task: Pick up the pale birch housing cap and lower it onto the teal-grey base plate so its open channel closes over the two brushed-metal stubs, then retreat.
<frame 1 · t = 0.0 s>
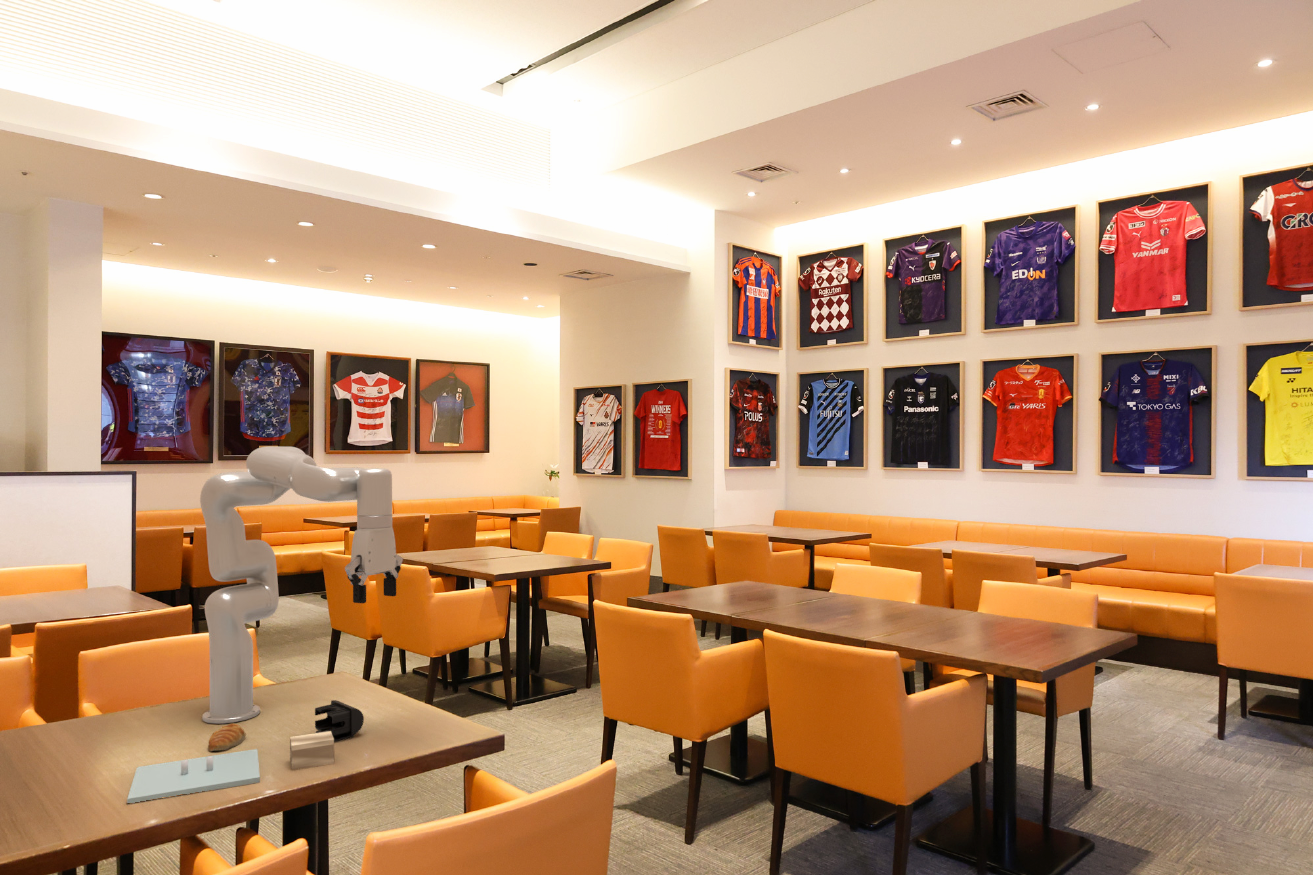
hand: (375, 599, 190), 31 cm above the table, tool pointing down, fingers open, 9 cm apart
pastry: (226, 746, 187), on the table
base plate: (197, 776, 168), on the table
end cap: (339, 735, 193), on the table
housing cap: (311, 762, 175), on the table
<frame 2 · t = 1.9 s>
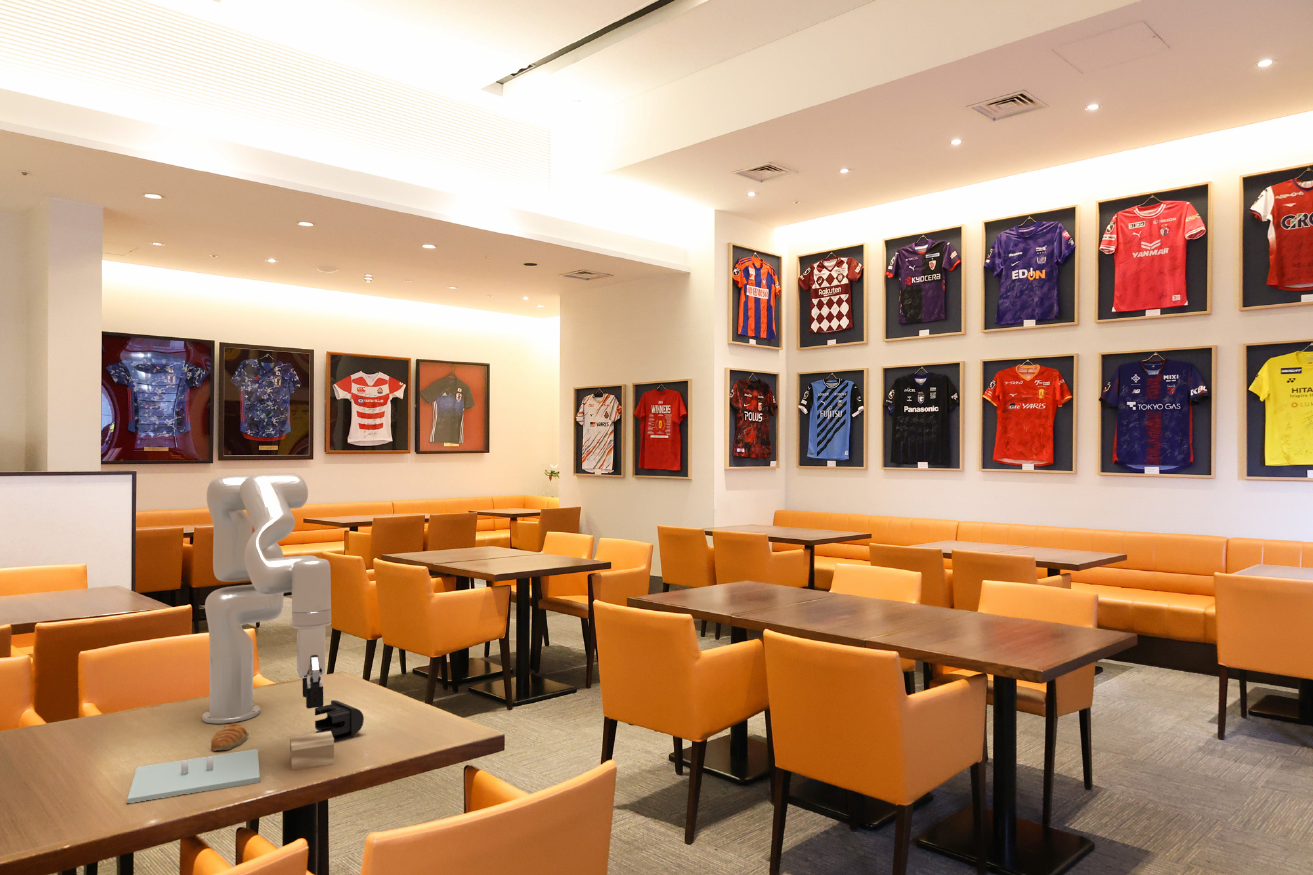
hand: (312, 701, 175), 13 cm above the table, tool pointing down, fingers open, 9 cm apart
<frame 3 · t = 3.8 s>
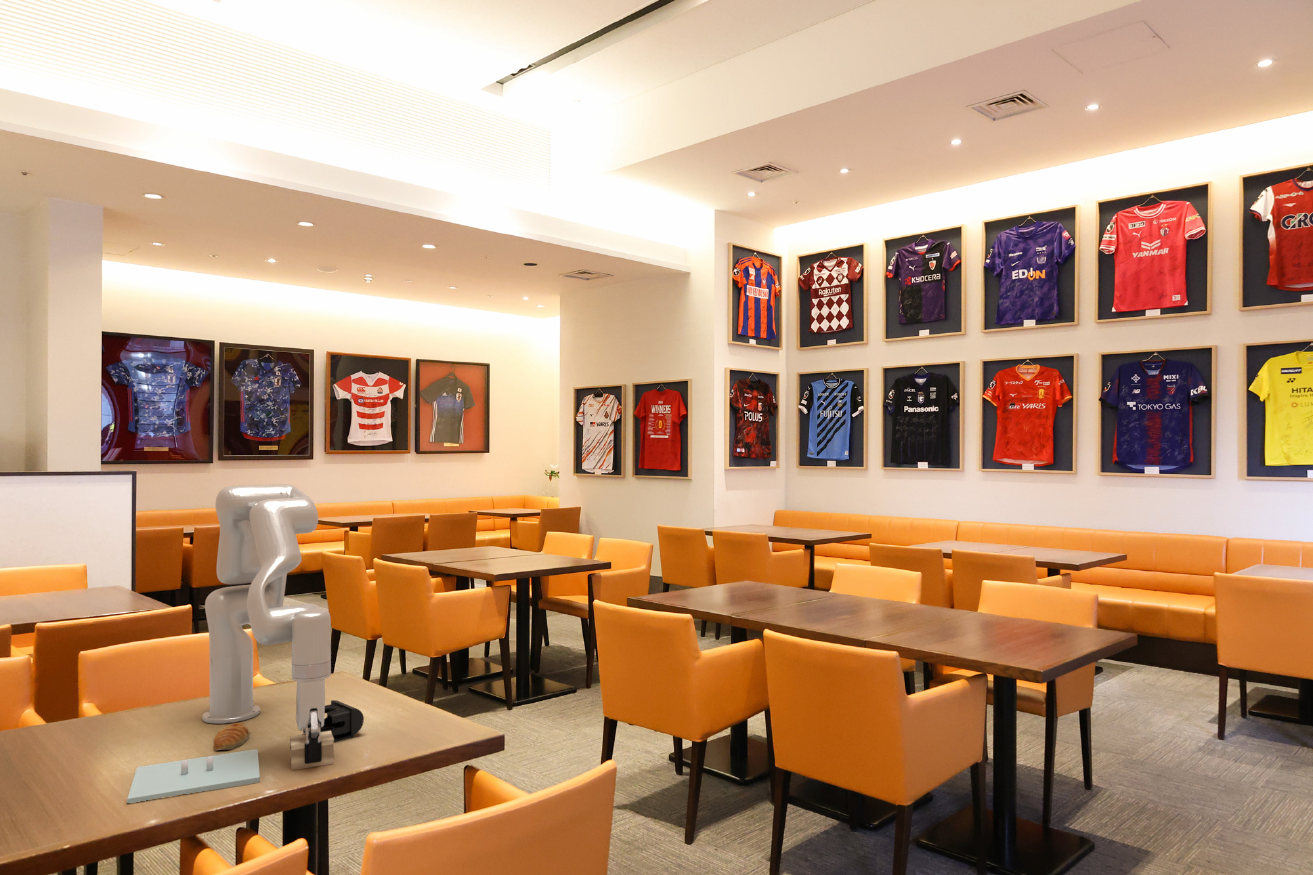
hand: (311, 756, 175), 1 cm above the table, tool pointing down, fingers closed on housing cap, 6 cm apart
housing cap: (311, 761, 175), on the table, touching gripper
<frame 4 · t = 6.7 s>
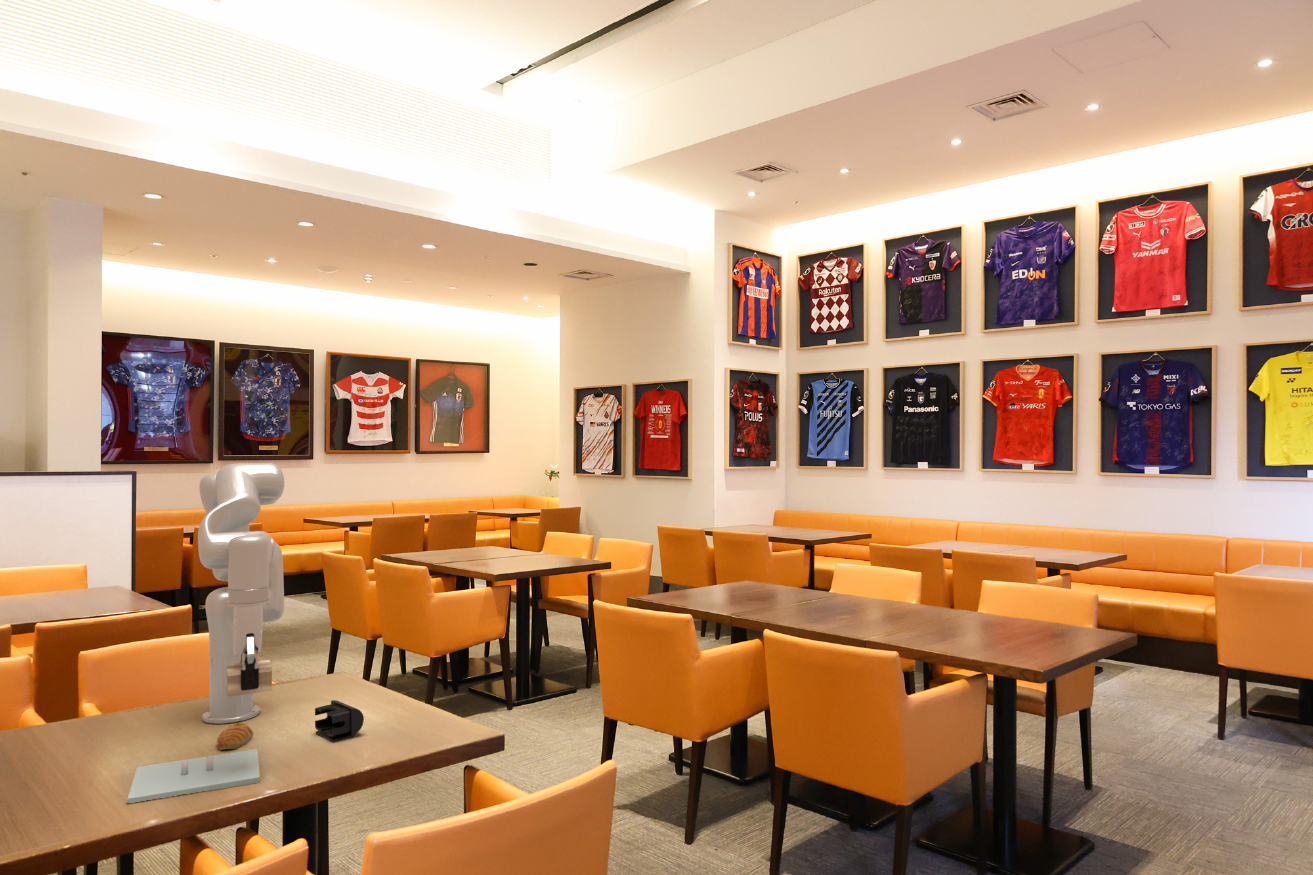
hand: (249, 684, 171), 17 cm above the table, tool pointing down, fingers closed on housing cap, 6 cm apart
housing cap: (249, 690, 171), point 16 cm above the table, touching gripper
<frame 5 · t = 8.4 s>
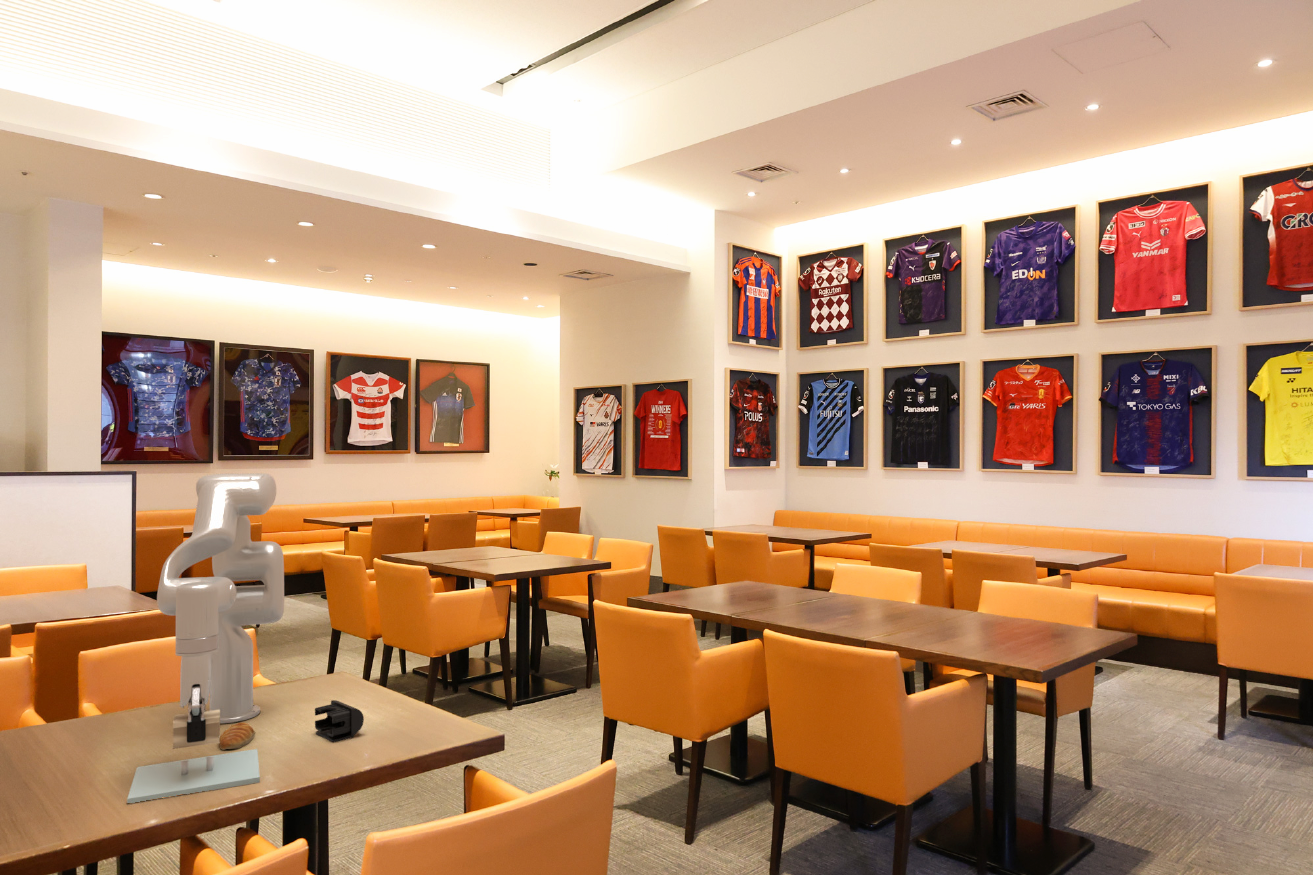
hand: (196, 735, 168), 8 cm above the table, tool pointing down, fingers closed on housing cap, 6 cm apart
housing cap: (196, 741, 167), point 7 cm above the table, touching gripper
when the fingers open (4 cm above the table, at t = 9.7 s): housing cap drops 1 cm, resting on base plate.
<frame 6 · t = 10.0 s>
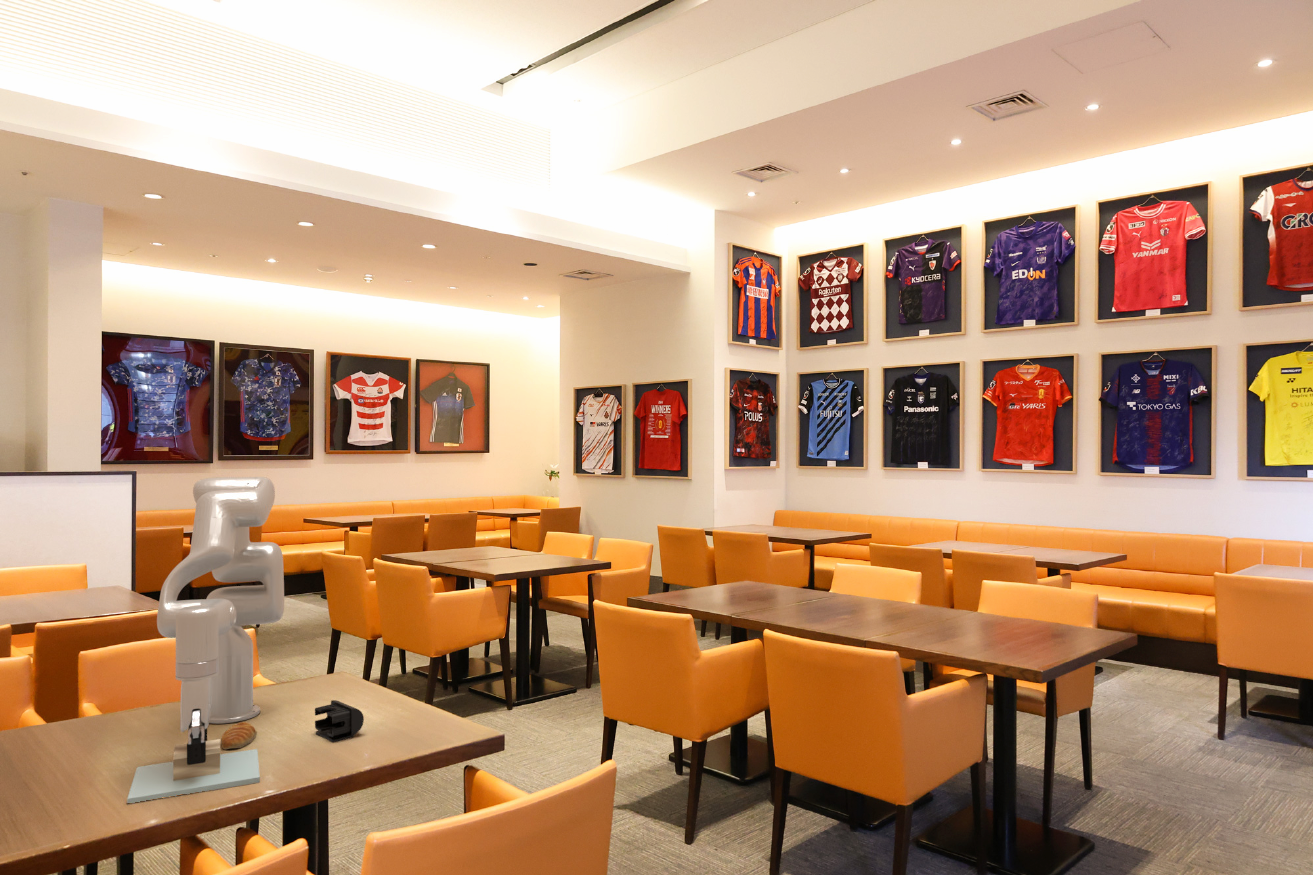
hand: (197, 755, 168), 4 cm above the table, tool pointing down, fingers open, 9 cm apart
housing cap: (197, 771, 168), point 1 cm above the table, touching base plate
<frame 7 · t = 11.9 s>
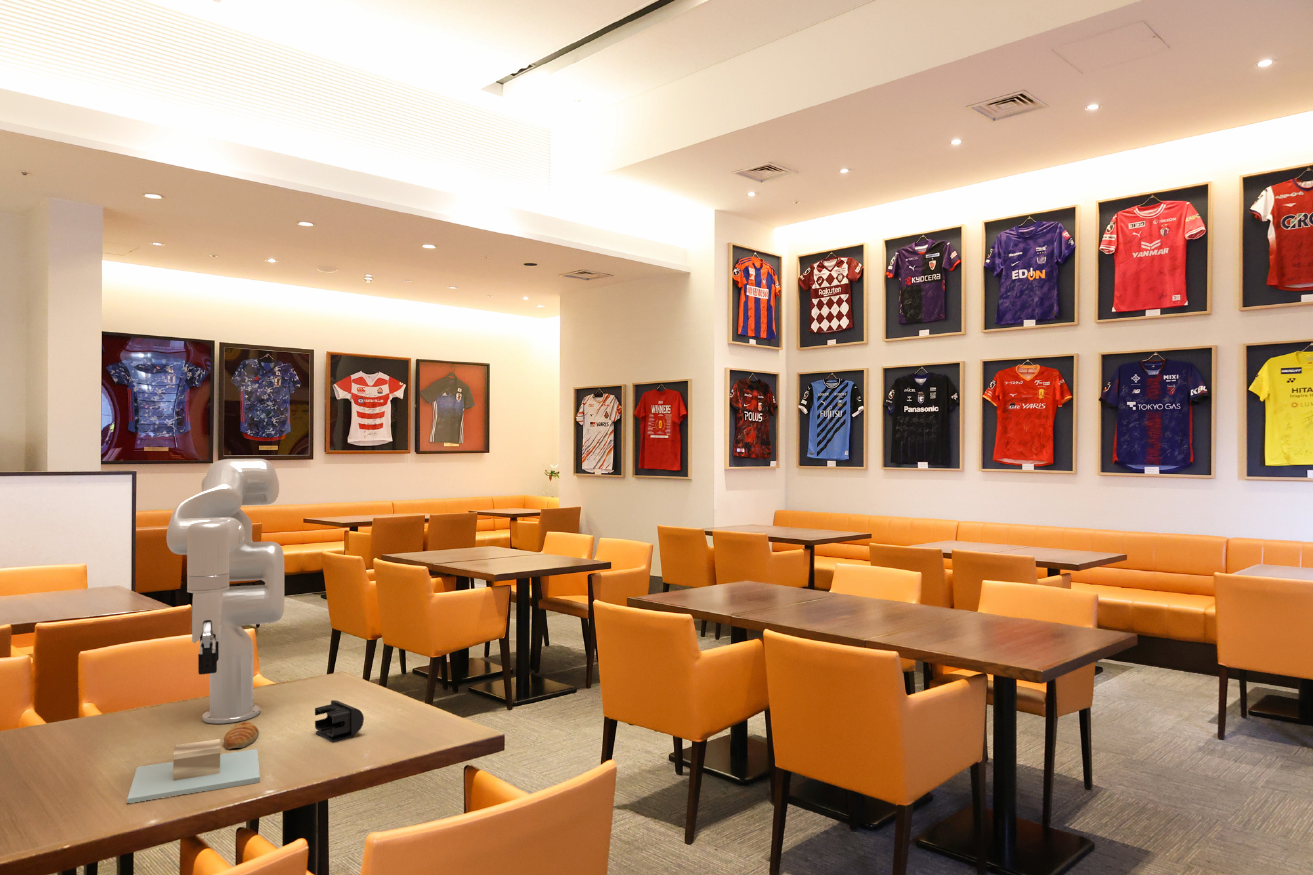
hand: (208, 667, 171), 21 cm above the table, tool pointing down, fingers open, 9 cm apart
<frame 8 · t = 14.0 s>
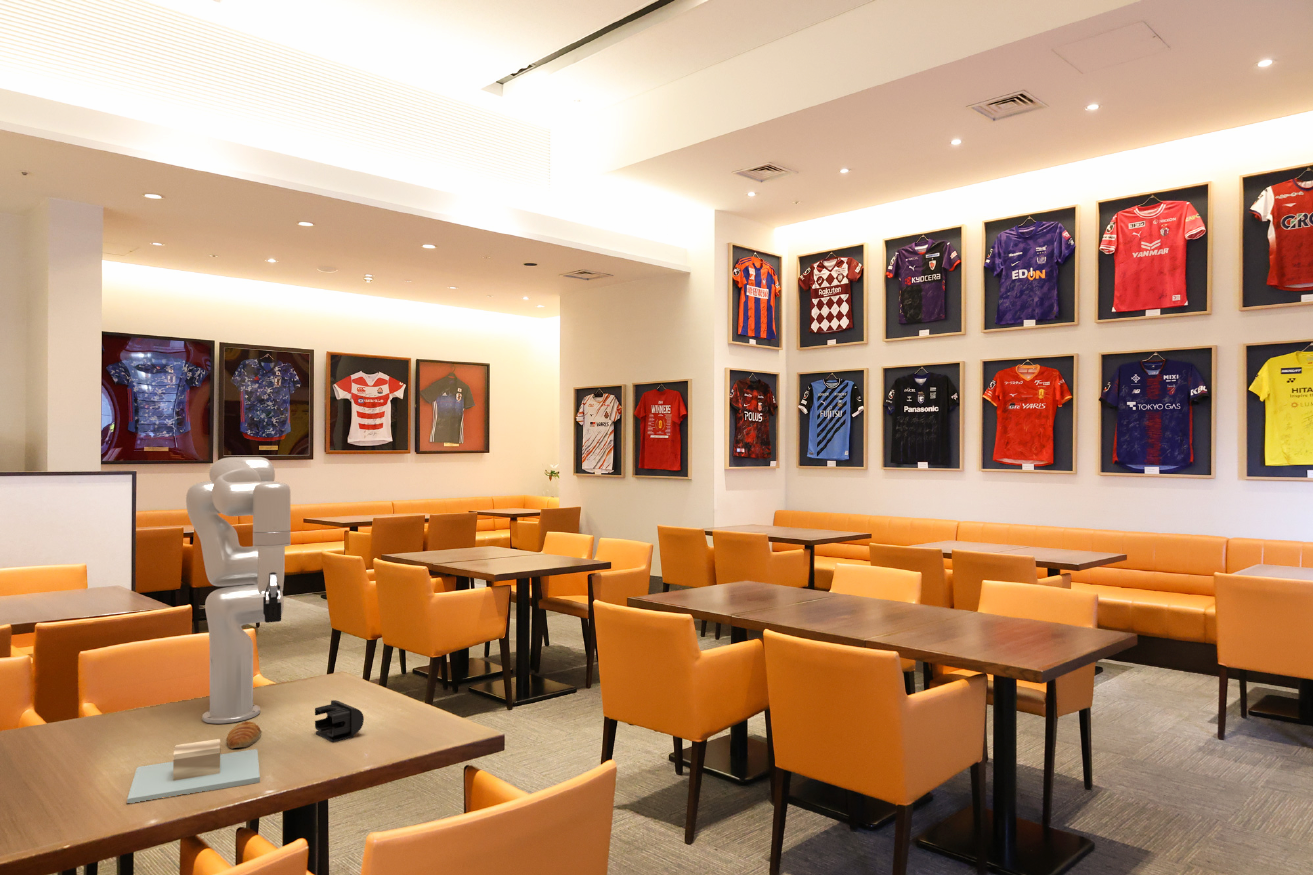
hand: (272, 617, 184), 28 cm above the table, tool pointing down, fingers open, 9 cm apart
at the end: housing cap 0.1 cm off-centre on the base plate, point 1.0 cm above the base plate's base; housing cap tilted 0°; the gripper is holding nothing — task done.
